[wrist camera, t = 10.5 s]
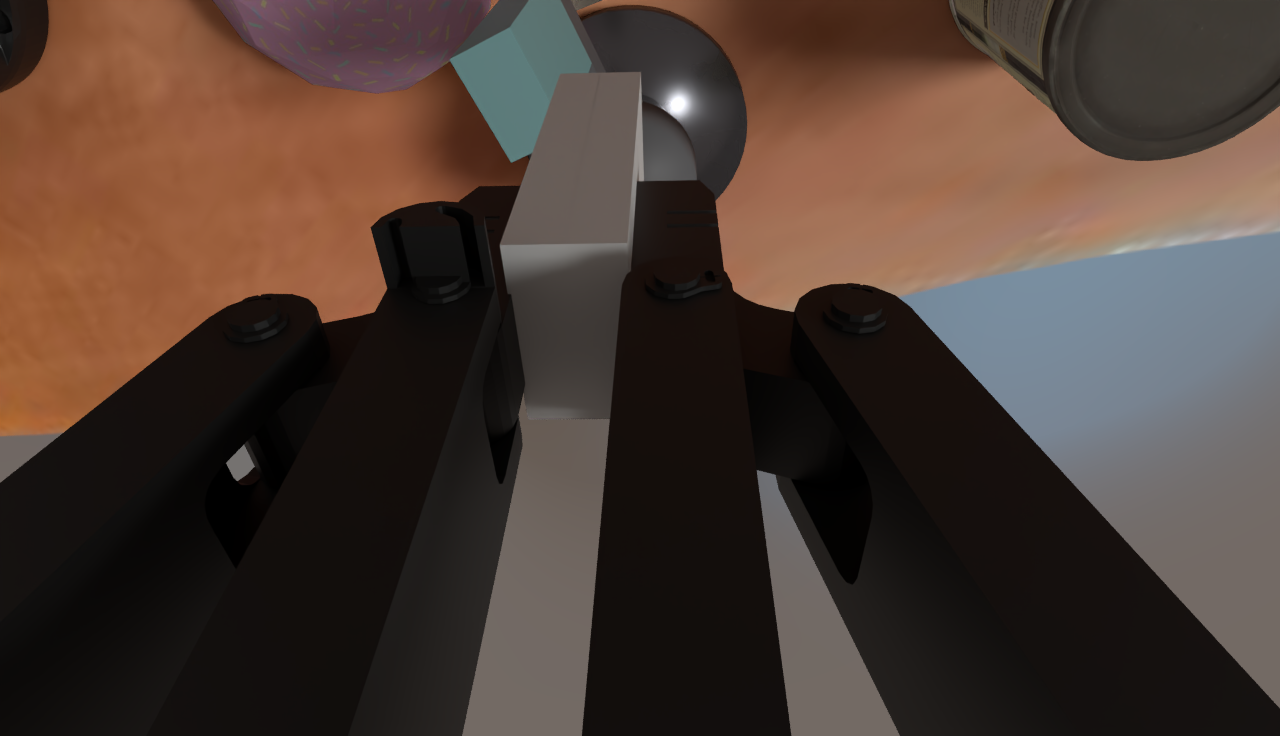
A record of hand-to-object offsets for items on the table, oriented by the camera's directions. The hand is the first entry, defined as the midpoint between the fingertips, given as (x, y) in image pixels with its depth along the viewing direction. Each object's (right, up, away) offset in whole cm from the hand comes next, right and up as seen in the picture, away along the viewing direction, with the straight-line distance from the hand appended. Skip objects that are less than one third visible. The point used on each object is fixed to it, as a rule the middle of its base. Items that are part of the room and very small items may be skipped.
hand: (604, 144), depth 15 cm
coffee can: (+22, +17, +24) cm, 36 cm away
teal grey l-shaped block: (-1, +9, +23) cm, 25 cm away
